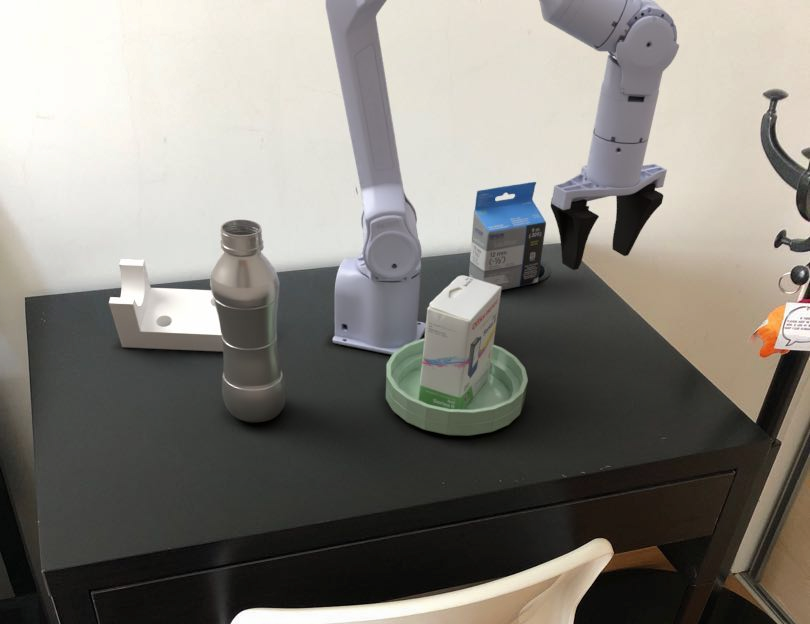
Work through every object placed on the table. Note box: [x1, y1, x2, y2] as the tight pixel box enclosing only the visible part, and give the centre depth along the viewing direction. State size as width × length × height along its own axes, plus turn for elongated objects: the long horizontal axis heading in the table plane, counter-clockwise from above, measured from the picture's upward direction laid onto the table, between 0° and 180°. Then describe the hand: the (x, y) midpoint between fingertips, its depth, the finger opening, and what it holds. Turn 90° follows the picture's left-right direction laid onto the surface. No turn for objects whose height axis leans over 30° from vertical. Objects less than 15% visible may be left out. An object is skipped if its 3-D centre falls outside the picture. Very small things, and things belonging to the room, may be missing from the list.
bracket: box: [108, 258, 223, 352], centre depth 103 cm, size 13×7×8 cm, turn 90°
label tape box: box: [468, 181, 547, 291], centre depth 115 cm, size 9×4×12 cm, turn 118°
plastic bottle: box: [209, 219, 287, 423], centre depth 88 cm, size 6×7×20 cm
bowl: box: [385, 337, 529, 436], centre depth 97 cm, size 15×15×4 cm
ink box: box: [418, 274, 502, 409], centre depth 94 cm, size 9×5×12 cm, turn 155°
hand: (595, 259), depth 102 cm, fingers open, 7 cm apart
